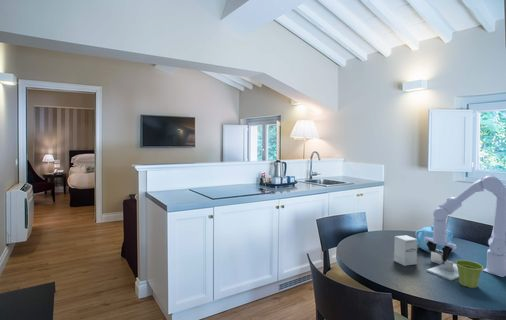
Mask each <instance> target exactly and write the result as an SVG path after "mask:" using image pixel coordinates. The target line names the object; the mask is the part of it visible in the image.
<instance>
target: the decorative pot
mask: <svg viewBox="0 0 506 320" xmlns="http://www.w3.org/2000/svg"><path fill="white" fill-rule="evenodd" d="M448 233H449V234H448ZM414 236H415V239H417V246H419V248H420V249H422V250H424V251H425V252H427V253H428V254H429V253H430V250H429V248H428V246H427V243H428V241H424V237H430V238H433V224H432V225H430V226H425V227H422V228H421V229H417V230H416V231H415V235H414ZM453 237H454V234H453V233H452V231H450V230H449V229H447V242H450V243H452V244H454V242H453V241H452V239H453ZM443 247H445V246H442V245H438V244H437V245H436V249H438V250H440V251H443V250H442V248H443ZM430 254H431V253H430Z"/></svg>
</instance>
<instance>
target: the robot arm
mask: <svg viewBox="0 0 506 320" xmlns="http://www.w3.org/2000/svg"><path fill="white" fill-rule="evenodd" d="M485 190H486V191H487V192H489V193H492V194H493V195H494V196H495V197H496V200H495V201H496V202H495V209H494V217H493V225H492V232H491V236H490V237H489V238H488V240H487V244H488V246H489V249H487V250H486V251H487V252H486V267H485V268H483V269H482V272H485V273H488V274H491V275H494V276H498V277H501V278H504V277H506V186H505V185H504V183H503V182H502V181H501V180H500V178H497V177H496V176H494V175H492V174H486V175H484V176H482V177H481V178H479V179H478V180H476V181H475V182H472V183H471V184H470V185H469V186H468V187H466V188H465V189H464V190H463V191H462V192H460V193H459V194H458V195H457V196H451V197H447V198H446V201H445V202H443V203H442V204H438V207H436V208H435V209H434V211H433V223H432V225H433V238H430V237H424V241H428V243H427V246H428V248H429V250H430V254H431V251H433V250H436V245H437V244H438V245H442V246H445V247H443V248H442V250H443V261H444V262H445V261H447V260H448V261H449V256H450V254H451V252H452V251H453V250H456V249H457V244H455V243H453V244H452V243H450V242H447V234H448V232H447V230H448V223H447V219H448V216H449V215H452V214H454V213H455V212H456V211H457V210H459V209H460V208H461V207H462V206H463V205H462V202H464V201H466V200H467V199H468V198H470V197H471V196H473V195H474V194H476V193H479V192H485Z"/></svg>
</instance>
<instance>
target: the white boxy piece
mask: <svg viewBox="0 0 506 320" xmlns="http://www.w3.org/2000/svg"><path fill="white" fill-rule="evenodd" d="M430 262H432V263H435V264H438V265H442V264H444V263H445V262H444V261H443V251H440V250H438V249H436V250H433V251H431V253H430Z"/></svg>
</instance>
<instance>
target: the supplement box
mask: <svg viewBox="0 0 506 320" xmlns="http://www.w3.org/2000/svg"><path fill="white" fill-rule="evenodd" d="M393 246H394V249H393V261H394V262H395V263H398V264H400V265H402V266H404V267H405V266H411V265H417V260H418V259H417V256H418V245H417V239H416V237H413V236H409V235H407V234H406V235H405V234H404V235H395V236H394V245H393Z"/></svg>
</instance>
